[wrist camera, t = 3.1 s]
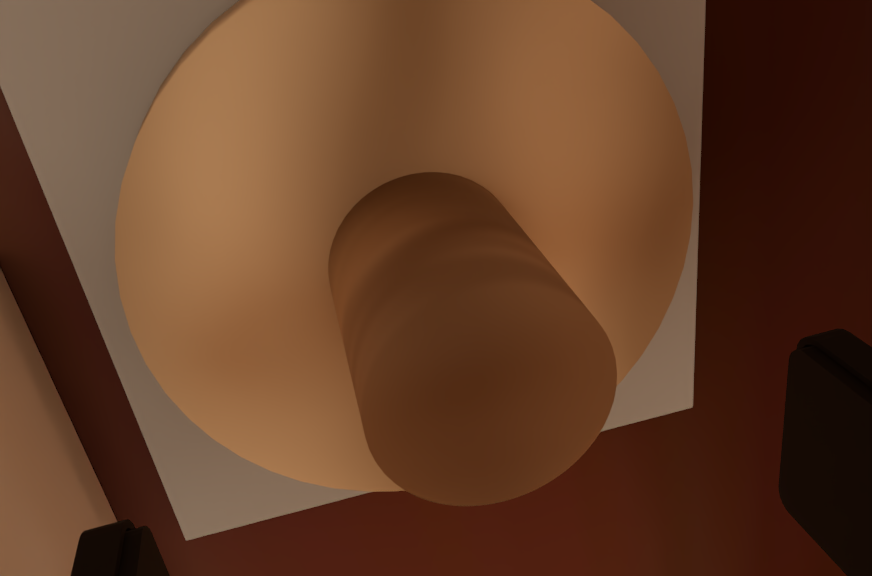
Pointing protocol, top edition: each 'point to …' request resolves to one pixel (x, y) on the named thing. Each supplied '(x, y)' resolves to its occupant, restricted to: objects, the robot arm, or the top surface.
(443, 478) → the lid
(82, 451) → the small beige box
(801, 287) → the top surface
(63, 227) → the mat
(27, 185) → the top surface
